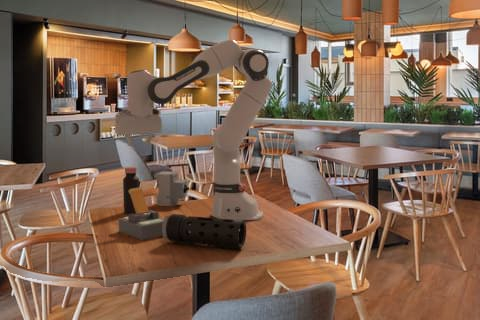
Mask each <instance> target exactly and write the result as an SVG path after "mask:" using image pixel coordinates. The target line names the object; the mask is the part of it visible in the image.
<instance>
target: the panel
mask: <svg viewBox="0 0 480 320" xmlns="http://www.w3.org/2000/svg"><path fill="white" fill-rule="evenodd" d="M148 211H149V212H150V213H151V217H149V218H144V219H140V216H139V215H137V214H133V213H132V214H127V216H125V217H122V218H120V217H119V218H118V232H120V233H122V234H124V235H127V236H129V237H132V238H135V239H138V240H139V241H140V240H141V241H144V240H150V239H154V238H158V237H162V236H163V234H162V225H163V221H164V219H165V218H161V217H159V212H158V211H156V210H153V209H150V210H149V209H148Z"/></svg>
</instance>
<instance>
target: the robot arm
mask: <svg viewBox="0 0 480 320" xmlns="http://www.w3.org/2000/svg"><path fill="white" fill-rule="evenodd" d="M232 67H234V69H235V70H236V71H237V72H238V73H239V74H240V75H243V76H245V78H246V80H245V83H244V86H243V87H242V89H241V91H240V92H239V93H238V95H237V96H236V99H235V100H234V102H233V103H232V105H231V106H230V108H229V111H228V112H227V114H226V116H225V118H224V120H223V121H222V124H220V125H218V126H217V127H216V128H215V129H214V131H213V140H212V141H213V160H214V161H213V163H214V182H213V186H212V192H213V202H212V208H211V213H210V216H212V218H219V219H230V220H243V221H257V220H261V218H262V217H264V212H263V211H262V210H259V206H258V201H257V200H256V199H255V198H254V197H252V195H250V194H248V193H247V191H246V190H245V189H246V183H242V182H241V160H240V146H241V145H242V143H243V141H244V140H245V137H246V136H247V134H248V132H249V129H250V128H251V125H252V124H253V122H254V120H255V119H256V117H257V115H258V113H259V112H260V110H261V109H262V107H263V106H264V104H265V102H266V100H267V99H268V96H269V94H270V91H271V89H272V85H273V84H272V81H271V79H270V78H269V77H268V73H269V58H268V56H267V54H266V53H265V52H264V51H262V50H261V49H255V48H254V49H253V48H250V49H249V48H248V49H242V48H241V46H240V44H239V43H238V42H237V41H235V40H234V39H226V40H223V41H220V42H218V43H216V44H214V45H211V46H209V47H208V48H206V49H204V50H203V51H202V52H200V53H199V54H198V55H197V56H195V58H194V60H193V61H192V62H191V63H190V64H189V65H188V66H186V67H185V68H182V69H181V70H179V71H177V72H176V73H173V74H171V75H169V76H165V77H158V76H156V75H154V74H152V73H151V72H149V71H148V70H147V69H139V70H134V71H131V72H130V73H129V74H128V75H127V80H126V94H127V102H126V106H127V110H126V111H121V110H120V111H118V112H117V113H116V114H115V117H114V118H115V125H114V133H115V134H116V135H117V136H124V139H125V140H126V142H127V146H128V147H134V141H132V140H131V136H132V135H145V134H146V135H147V139H146V140H145V145H147V146H149V145H151V144H152V142H151V141H152V139H153V137H154V134H159V133H162V130H163V122H162V117H161V116H160V115H161V110H160V109H158V108H155V107H153V106H150V102H151V101H152V102H153V103H155V104H157V105H165V104H168V103H170V101H172V99H173V98H174V97H175V96H176V94H177V93H178V92H179V91H181V90H182V89H184V88H185V87H187V86H190V85H191V84H192V83H193V84H194V82H196V81H199V80H203V79H204V80H205V79H209V78H211V77H215V76H217V75H219V74H221V73H223V72H224V71H226V70H227V69H229V68H230V69H231V68H232Z"/></svg>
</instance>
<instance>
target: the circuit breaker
mask: <svg viewBox="0 0 480 320" xmlns="http://www.w3.org/2000/svg"><path fill="white" fill-rule="evenodd" d="M155 179H156V184H157V185H158V186H157V187H158V195H156V204H157V205H156V206H161V207H175V206H176V205H178V204H179V201H180V200H179V199H181V200H182V199H185V198H186V197H187V196H188V191H189V190H190V186H188V180H187V179H179V171H161V172H158V173H156V178H155ZM174 203H175V204H174Z"/></svg>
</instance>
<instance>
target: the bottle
mask: <svg viewBox="0 0 480 320" xmlns="http://www.w3.org/2000/svg"><path fill="white" fill-rule="evenodd" d="M124 173H125V177H123V179H122V185H123V186H122V187H123V188H122V189H123V192H122V193H123V213H124V214H127V215H128V214H132V213H133V214H136V211H135V208H134V205H133V201H132V198H131V195H130V194H129V190H130V189H132V188H139V187H140V179H139V177H138V176H137V167H136V166H126V167H124ZM136 215H137V214H136Z"/></svg>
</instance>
